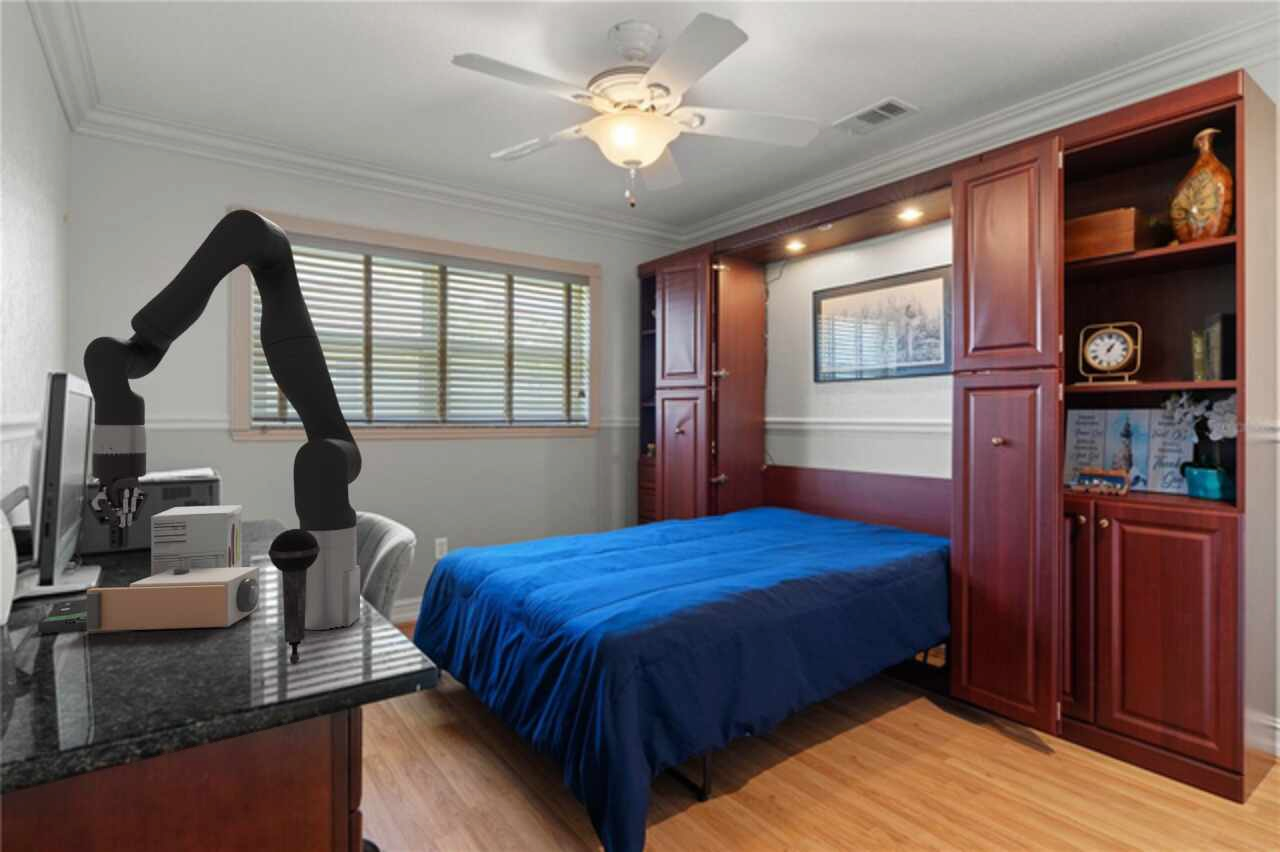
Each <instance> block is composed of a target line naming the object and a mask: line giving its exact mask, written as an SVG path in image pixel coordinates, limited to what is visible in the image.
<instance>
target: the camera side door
mask: <svg viewBox="0 0 1280 852" xmlns="http://www.w3.org/2000/svg"><path fill="white" fill-rule="evenodd" d="M86 601H87V629H86V632H87V631H89V632H90V631H91V632H92V631H116V630H117V631H118V630H119V631H121V630H125V631H126V630H130V629H146V630H155V629H154V628H175V629H183V628H182V627H203V628H212V627H211V626H225V625H227V585H195V586H160V587H130V586H129V587H97V588H96V587H95V588H93V587H92V588H88V589H86Z"/></svg>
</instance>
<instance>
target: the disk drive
mask: <svg viewBox="0 0 1280 852" xmlns="http://www.w3.org/2000/svg"><path fill="white" fill-rule="evenodd" d="M78 630H79V631H81V630H87V600H86V601H79V600H74V601H66V602H65V601H64V602H61V603H60V604H58V606H57V607H55V608H54V609H53V610H52V611H51V612H49V613H48V614H46V615H45V616H44V617H42V618H41V619H40V620H39V621H38V624H37V634H38V633H48V634H53V633H52V632H57V633H65V632H73V631H78Z"/></svg>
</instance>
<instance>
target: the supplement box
mask: <svg viewBox="0 0 1280 852" xmlns="http://www.w3.org/2000/svg"><path fill="white" fill-rule="evenodd" d="M242 512H243V505H242V504H229V505H196V506H195V505H193V506H175V507H174V506H173V507H171V508H169V509H166V510H165V511H162V512H159V513H157V514H154V515H151V517H150V529H151V530H150V539H151V540H150V542H151V543H150V546H151V547H150V550H151V551H150V553H151V554H150V556H151V557H150V558H151V559H150V560H151V562H150V563H151V566H150V567H151V572H150V573H151V576H154V575H156V574H159V573H162V572H165V571H167V570H170V569H177V568H189V569H196V568H235V567H243V566H242V565H243V563H242V562H243V561H242V558H243V557H242V555H243V553H242V551H243V550H242V549H243V548H242V545H243V543H242V540H243V538H242V537H243V535H242V534H243V533H242V532H243V531H242V529H243V528H242V527H243V526H242V525H243V524H242V521H243V518H242V517H243V516H242V515H243V513H242ZM151 576H150V577H151Z"/></svg>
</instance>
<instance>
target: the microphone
mask: <svg viewBox="0 0 1280 852" xmlns="http://www.w3.org/2000/svg"><path fill="white" fill-rule="evenodd" d="M319 551H320V547H319V546H318V542H317V540H316V538H315V537H314V536H313V535H312V534H311V533H309V532H308V531H305V530H302V529H300V528H292V529H287V530H285V531H283V532H281V533H279V534H278V535H277V536H276V537H275V538H274V539H273V541H272V542H271V544H270V547H269V550H268V553H267V554H268V556H269V558H270V561H271V563H272V565H273V566H274V567H275V568H276V569H277V570H279V571H280V572H281V574H282V601H283V603H282V604H283V625H284V630H283V631H284V642H286V643H288V646H291V655H290V657H289V661H290V663H293V664H296V663H298V662H299V660H300V654H298V645H300V644H301V643H302V641H303V640H305V630H306V629H305V606H306V576H307V569H308V568H309V567H310V566H311V565H312V564H313V563H314V562H315V560H316V558H317V556H318V552H319Z"/></svg>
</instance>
